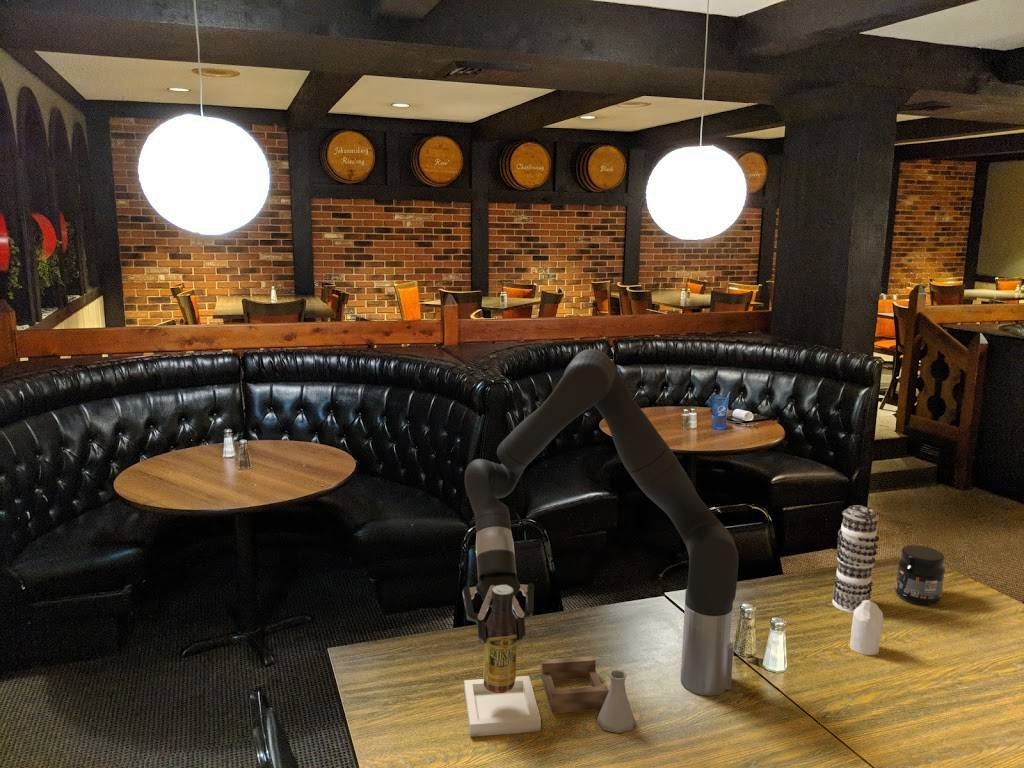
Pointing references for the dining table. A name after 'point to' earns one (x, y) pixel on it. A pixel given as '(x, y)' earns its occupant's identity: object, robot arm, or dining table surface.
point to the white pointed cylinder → (866, 628)
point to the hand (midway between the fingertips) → (502, 641)
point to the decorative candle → (855, 557)
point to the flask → (616, 706)
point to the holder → (573, 696)
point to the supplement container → (920, 575)
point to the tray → (501, 708)
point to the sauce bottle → (500, 642)
